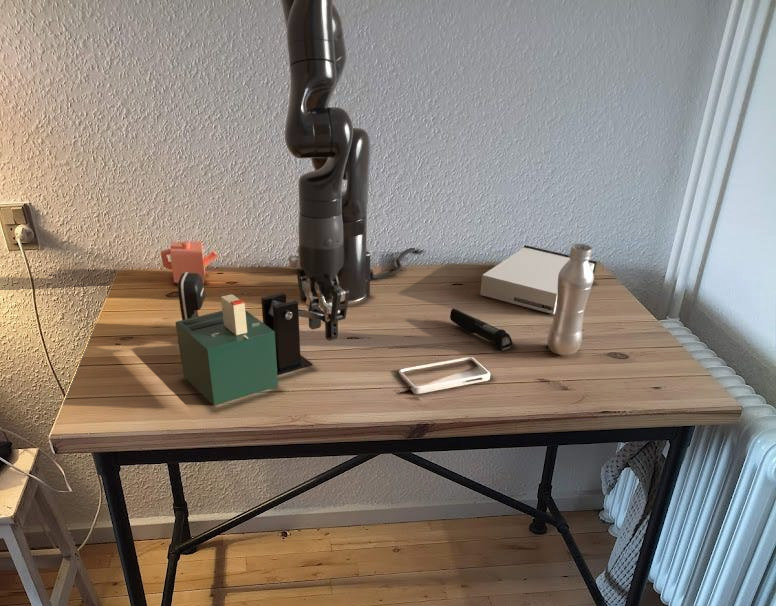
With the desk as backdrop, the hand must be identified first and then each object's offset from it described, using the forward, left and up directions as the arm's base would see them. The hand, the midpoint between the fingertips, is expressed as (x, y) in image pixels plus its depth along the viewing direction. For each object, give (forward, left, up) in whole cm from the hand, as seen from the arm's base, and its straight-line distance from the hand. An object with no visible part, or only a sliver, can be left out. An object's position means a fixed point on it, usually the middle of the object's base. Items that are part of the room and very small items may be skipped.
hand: (323, 333), depth 140 cm
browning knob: (+19, +3, +6) cm, 20 cm away
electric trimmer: (-31, +9, -5) cm, 32 cm away
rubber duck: (-18, -38, -5) cm, 43 cm away
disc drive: (-57, -2, -5) cm, 58 cm away
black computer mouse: (+16, -21, -5) cm, 27 cm away
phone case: (-13, +19, -5) cm, 24 cm away
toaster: (+20, +1, -5) cm, 20 cm away
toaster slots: (+20, -2, +6) cm, 21 cm away
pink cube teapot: (+5, -47, -5) cm, 47 cm away
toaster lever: (+5, 0, +4) cm, 6 cm away
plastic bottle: (-39, +23, -5) cm, 46 cm away
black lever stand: (+9, 0, -5) cm, 10 cm away
